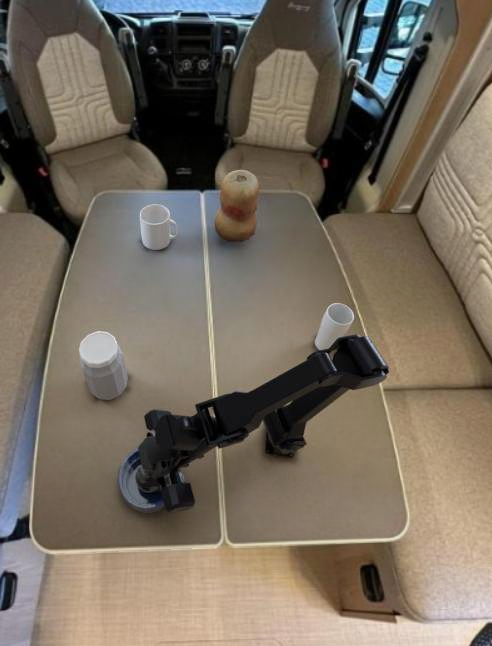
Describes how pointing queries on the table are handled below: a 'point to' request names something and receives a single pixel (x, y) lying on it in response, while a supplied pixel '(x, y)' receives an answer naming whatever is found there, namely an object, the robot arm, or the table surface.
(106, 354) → the jar
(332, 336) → the drinking glass
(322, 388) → the robot arm
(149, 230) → the mug
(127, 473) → the bowl
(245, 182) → the butternut squash
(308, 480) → the table surface
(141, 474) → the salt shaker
